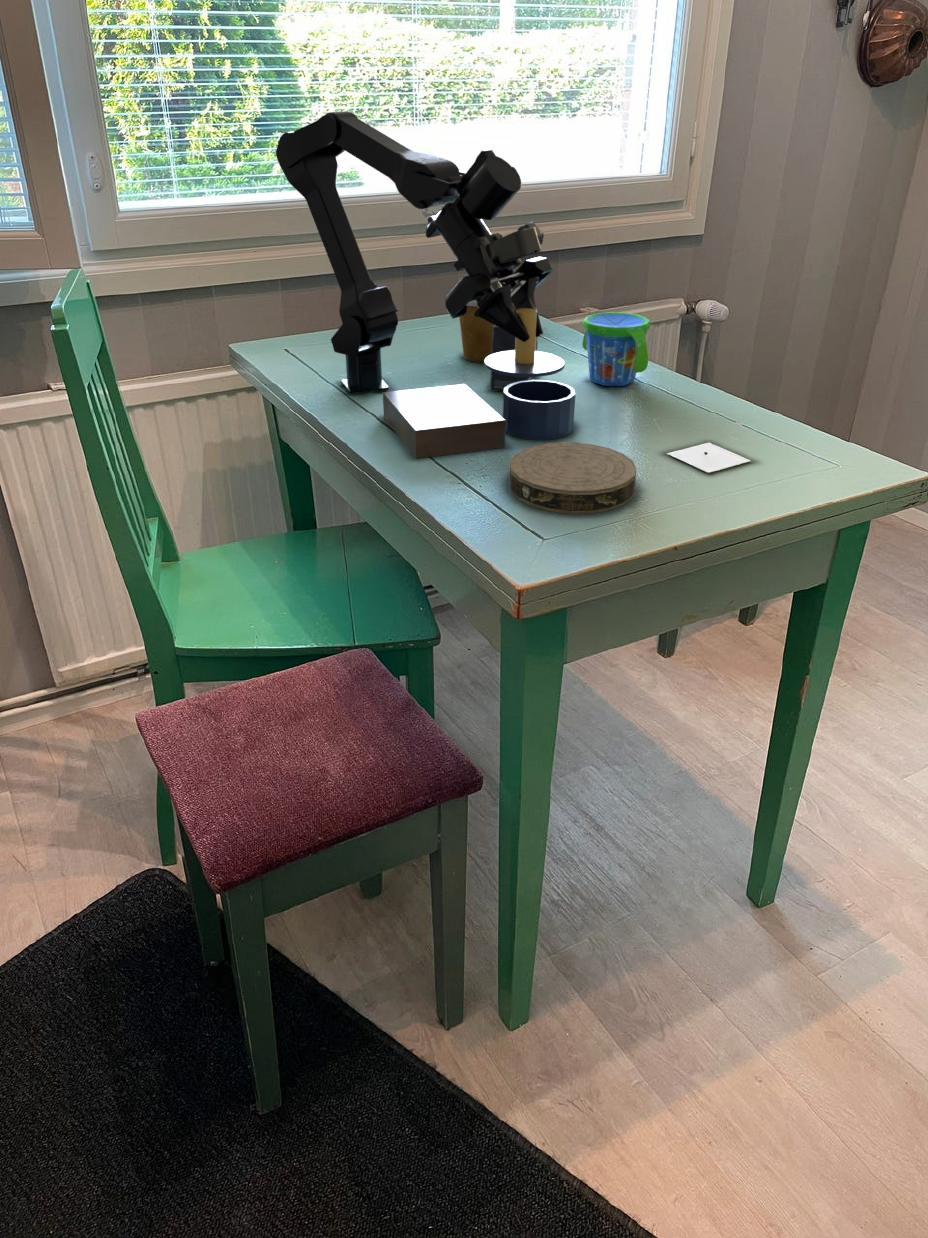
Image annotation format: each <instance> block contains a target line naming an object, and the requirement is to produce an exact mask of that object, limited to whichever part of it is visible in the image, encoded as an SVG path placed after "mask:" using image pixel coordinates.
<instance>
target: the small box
mask: <svg viewBox="0 0 928 1238" xmlns="http://www.w3.org/2000/svg"><path fill="white" fill-rule="evenodd" d="M538 316H539V317H540V314H539V313H538ZM515 338H516V337H515V336H513V335H511V334H510V333H508V332H506V331H505V330H503V329H501V328H499V327H498V326H496V325H494V326H493V333H492V354H494V353H498V352H503V351H511V350H515ZM538 343H539V337H536V340H535V351H538V345H539V344H538ZM527 380H535V377H514V376H508V375H503V374H499V373H495V372H493V371H491V370H490V385H489V390H490V391H492V392H493V391H494V392H504V388H505V387H506V386H508V385H509V384H512V383H515V382H519V381H527Z"/></svg>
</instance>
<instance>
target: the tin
mask: <svg viewBox="0 0 928 1238" xmlns="http://www.w3.org/2000/svg"><path fill="white" fill-rule="evenodd" d="M502 398H503V400H502V401H503V402H502V403H503V404H502V417H503V418H504V419H505V420H506V428H505V433H507V434H509V435H511V436H513V437H516V438H520V439H526V440H534V441H535V440H536V441H546V440H555V439H560V438H561V439H562V438H563V437H567V436H568V435H570V434H571V433H572V432H573V428H574V422H575V409H576V389H575V388H573V387H572V386H570V385H568V384H566V383H562V382H559V381H553V380H547V379H533V380H527V381H519V382H515V383H512V384H509V385H508V386H506V387H505V388H504V391H503V397H502Z"/></svg>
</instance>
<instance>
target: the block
mask: <svg viewBox="0 0 928 1238" xmlns="http://www.w3.org/2000/svg"><path fill="white" fill-rule="evenodd" d="M382 404H383V405H382V409H383V419H384V420H385V421H386V423H387V425H389V427H390V428H391V429H392V431H394V433H395V434H396V435H397V436H398V438H399V439H400V441H401V442H402V443H403V444H404V445H405V447H406V448H407V449H408V450H409V452H410V453H411V454H412V456H414V458H415V459H422V458H423V459H424V458H431V457H432V458H433V457H440V456H447V455H455V454H462V453H463V454H464V453H471V452H480V451H488V450H495V449H502V448H503V449H504V448H506V431H505V428H506V420H505V419H504V418H503V415H500V413H498V412H497V411H496V410H495V409H494V408H493V407H491V405H490V404H489V403H488V402H486V401H485V400H484V399H482V398H481V397H480V395H479V394H477V393H476V392H475V391H474V390H472V389H471V388H470V387H469V386H468V385H467V384H466V383H460V384H451V385H442V386H441V385H440V386H432V387H422V388H412V389H402V390H401V389H400V390H393V391H384V392H382Z"/></svg>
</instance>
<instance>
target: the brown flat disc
mask: <svg viewBox="0 0 928 1238" xmlns="http://www.w3.org/2000/svg"><path fill="white" fill-rule="evenodd" d="M508 475H509V477H508V480H509V481H508V486H509V490H510V493H511V494H512V495H513V496H514V497H515V498H516V499H517V500H518V501H520V502H522V503H524V504H526V505H528V506H530V507H533V508H536V509H540V510H542V511H548V512H550V513H551V512H552V513H561V514H569V515H576V514H577V515H581V514H582V515H583V514H584V515H585V514H586V515H587V514H596V513H603V512H608V511H612V510H614V509H616V508H619V507H622V506H625V505H626V503H628V502H630V501H631V500H632V499H633V497H634V493H635V487H636V479H637V466H636V464H635V463H634V461H633V459H631V458H630V457H629V456H627V455H625V454H624V453H622V452H620V451H617V450H616V449H612V448H610V447H606V446H601V445H597V444H592V443H585V442H584V443H583V442H573V441H569V442H567V441H565V442H550V443H543V444H535V445H533V446H530V447H527V448H524V449H522V450H520V451H519V452H517V453H515V454H514V455H513V456H512V457H511V460H510V461H509V474H508Z"/></svg>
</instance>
